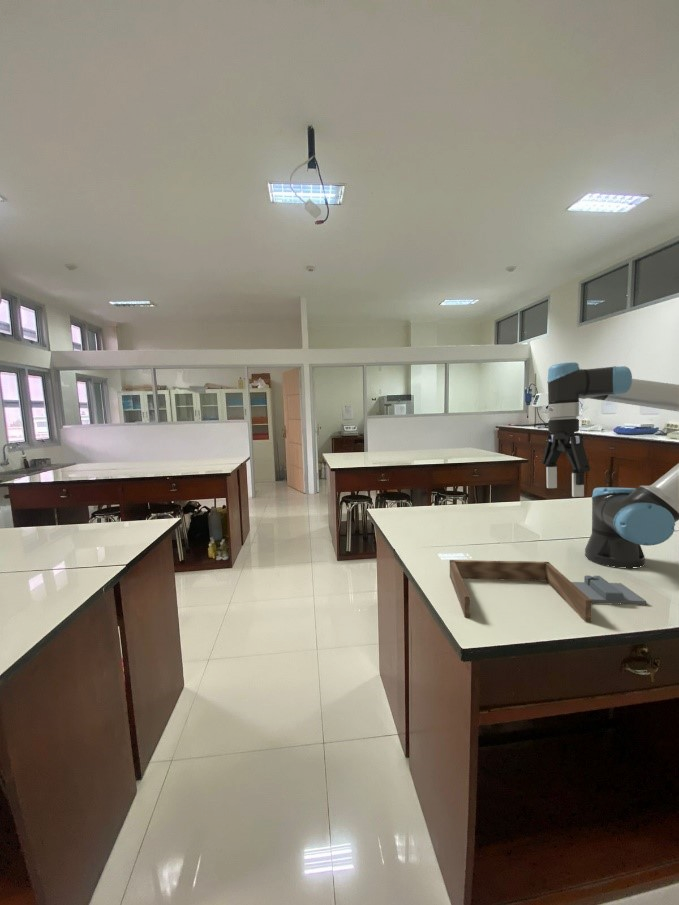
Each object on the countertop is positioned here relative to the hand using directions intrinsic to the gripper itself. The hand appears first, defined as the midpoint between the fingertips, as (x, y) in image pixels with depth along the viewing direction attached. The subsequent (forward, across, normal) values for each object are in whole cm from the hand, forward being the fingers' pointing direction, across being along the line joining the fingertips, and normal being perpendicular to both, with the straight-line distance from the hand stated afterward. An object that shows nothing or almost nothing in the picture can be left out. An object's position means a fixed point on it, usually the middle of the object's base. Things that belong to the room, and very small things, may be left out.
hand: (564, 492), depth 107 cm
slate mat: (+24, +14, +2) cm, 28 cm away
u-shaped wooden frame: (+24, +15, -22) cm, 35 cm away
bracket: (+23, +14, +2) cm, 27 cm away
